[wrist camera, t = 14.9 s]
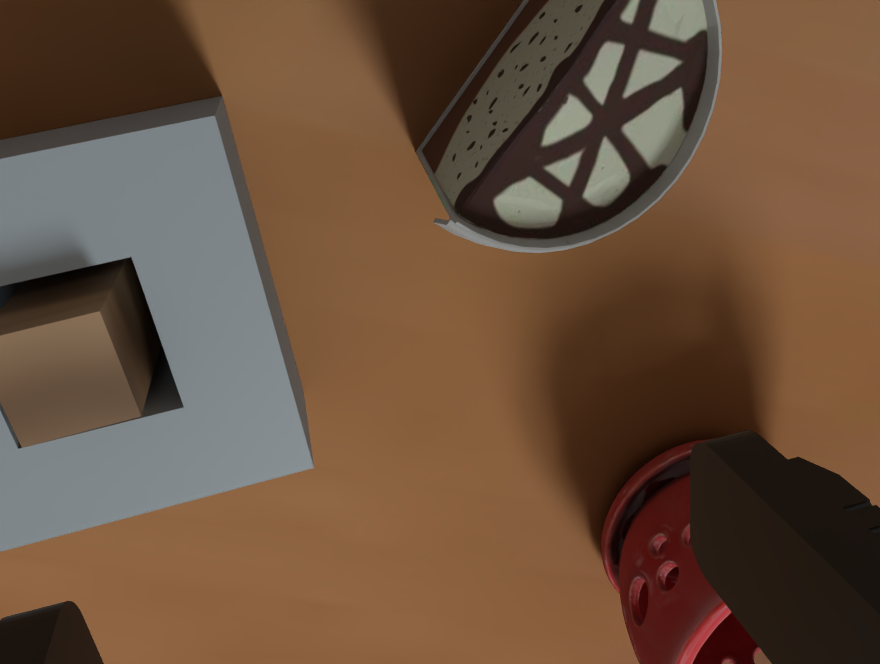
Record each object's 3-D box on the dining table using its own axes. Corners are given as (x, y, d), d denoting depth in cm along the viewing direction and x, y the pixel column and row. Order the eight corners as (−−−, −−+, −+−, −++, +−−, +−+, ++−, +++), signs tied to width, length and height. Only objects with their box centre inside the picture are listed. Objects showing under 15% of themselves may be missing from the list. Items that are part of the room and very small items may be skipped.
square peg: (41, 261, 33) (-29, 342, 25) (136, 239, 33) (99, 311, 25) (76, 345, 35) (21, 447, 26) (166, 323, 35) (141, 416, 27)
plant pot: (655, 384, 42) (795, 512, 31) (818, 464, 47) (989, 600, 36) (531, 571, 45) (619, 747, 34) (696, 629, 50) (819, 800, 39)
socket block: (-140, 167, 30) (-245, 208, 24) (222, 95, 32) (214, 115, 26) (3, 467, 36) (-51, 565, 29) (303, 391, 38) (313, 467, 31)
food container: (498, 253, 37) (576, 329, 28) (395, 179, 35) (445, 236, 26) (664, 33, 35) (807, 40, 26) (567, -62, 33) (687, -91, 24)
